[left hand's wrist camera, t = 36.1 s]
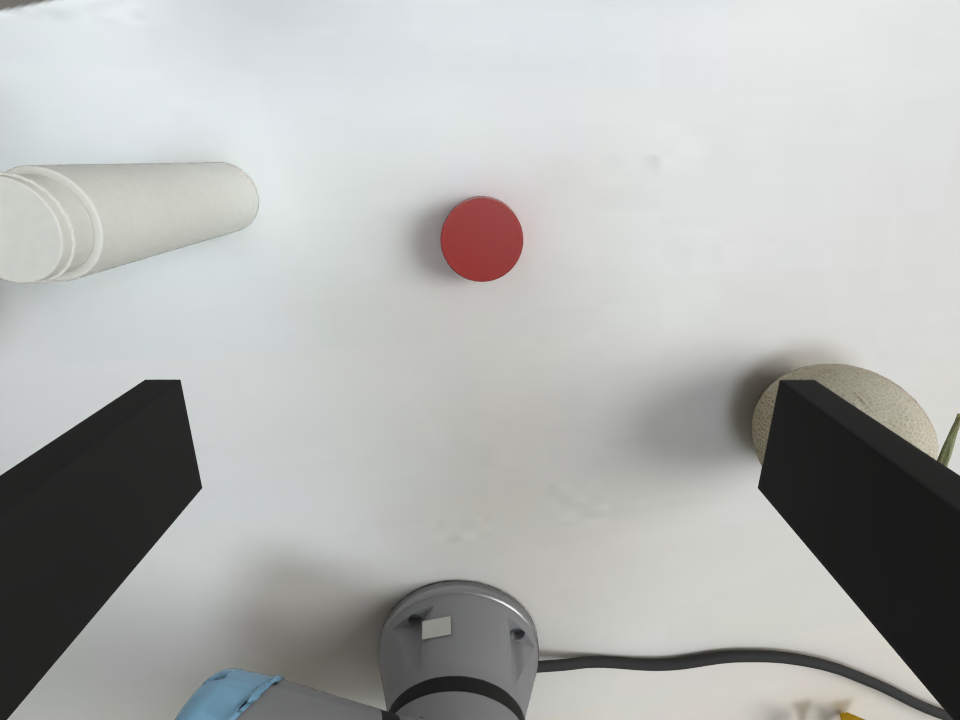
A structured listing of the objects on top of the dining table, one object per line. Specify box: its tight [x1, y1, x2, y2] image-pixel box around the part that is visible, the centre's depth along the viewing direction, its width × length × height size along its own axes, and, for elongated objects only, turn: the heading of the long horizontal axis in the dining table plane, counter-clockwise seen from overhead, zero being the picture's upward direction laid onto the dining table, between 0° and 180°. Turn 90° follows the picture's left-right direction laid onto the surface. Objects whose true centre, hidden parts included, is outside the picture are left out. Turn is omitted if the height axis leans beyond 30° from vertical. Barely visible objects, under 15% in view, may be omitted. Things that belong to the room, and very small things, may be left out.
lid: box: [441, 196, 523, 282], centre depth 40 cm, size 6×6×2 cm
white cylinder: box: [0, 162, 259, 283], centre depth 31 cm, size 5×5×20 cm
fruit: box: [752, 364, 960, 467], centre depth 38 cm, size 10×12×15 cm
